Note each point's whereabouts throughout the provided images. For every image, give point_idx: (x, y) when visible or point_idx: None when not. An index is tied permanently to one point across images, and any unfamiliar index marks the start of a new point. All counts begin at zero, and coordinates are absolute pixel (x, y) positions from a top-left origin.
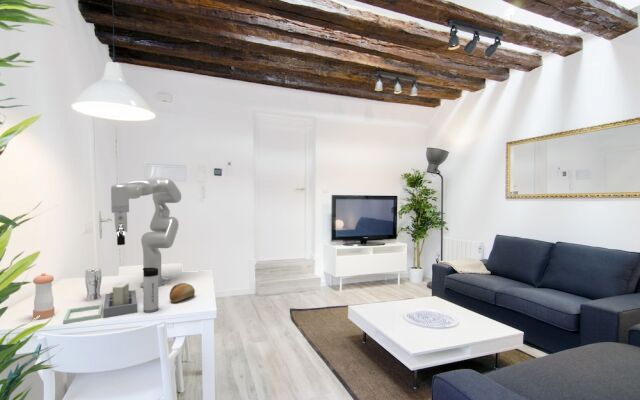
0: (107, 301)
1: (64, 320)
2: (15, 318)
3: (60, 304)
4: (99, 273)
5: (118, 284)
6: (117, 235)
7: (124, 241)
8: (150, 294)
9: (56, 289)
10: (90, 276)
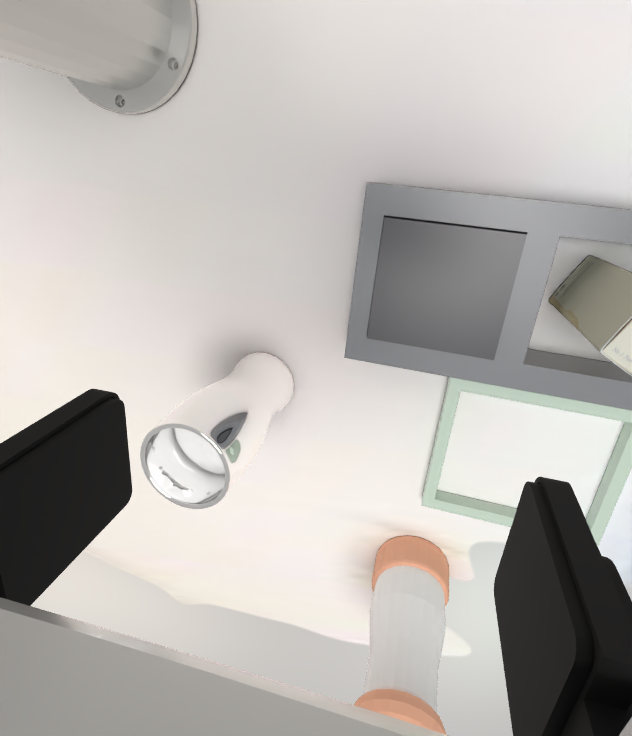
0: (528, 375)
1: (598, 542)
2: (367, 624)
3: (271, 498)
4: (223, 427)
5: (625, 363)
6: (30, 603)
7: (588, 537)
8: None
9: None
10: (242, 471)
